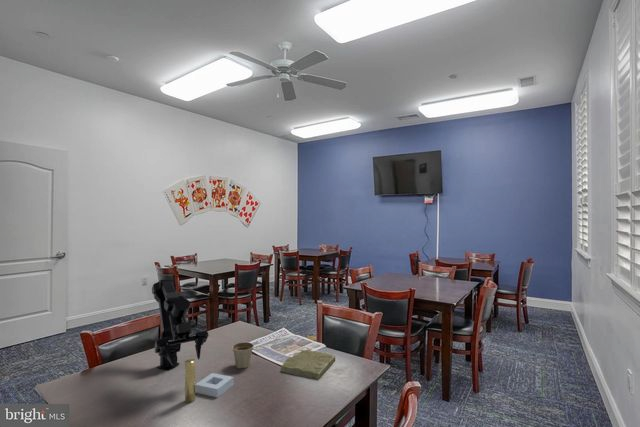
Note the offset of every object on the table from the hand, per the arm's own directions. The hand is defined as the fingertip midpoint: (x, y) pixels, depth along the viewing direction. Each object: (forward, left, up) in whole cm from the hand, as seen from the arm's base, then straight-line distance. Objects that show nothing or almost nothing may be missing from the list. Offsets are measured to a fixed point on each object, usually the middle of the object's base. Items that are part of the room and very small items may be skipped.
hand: (186, 362), depth 126 cm
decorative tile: (+33, +38, -13) cm, 52 cm away
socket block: (+7, +7, -12) cm, 16 cm away
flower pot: (+6, +28, -12) cm, 31 cm away
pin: (+4, -3, -12) cm, 13 cm away
